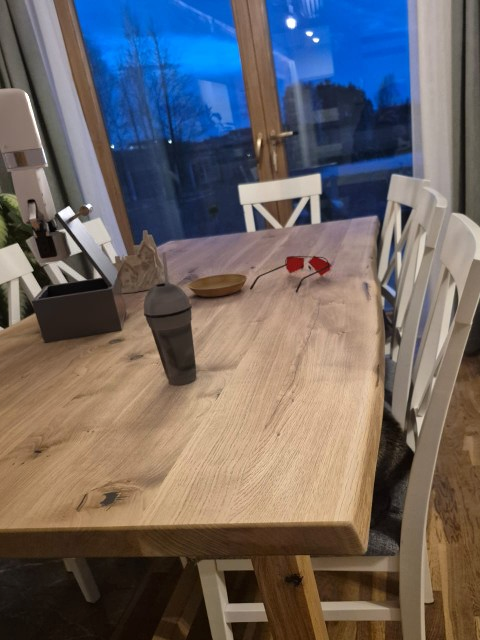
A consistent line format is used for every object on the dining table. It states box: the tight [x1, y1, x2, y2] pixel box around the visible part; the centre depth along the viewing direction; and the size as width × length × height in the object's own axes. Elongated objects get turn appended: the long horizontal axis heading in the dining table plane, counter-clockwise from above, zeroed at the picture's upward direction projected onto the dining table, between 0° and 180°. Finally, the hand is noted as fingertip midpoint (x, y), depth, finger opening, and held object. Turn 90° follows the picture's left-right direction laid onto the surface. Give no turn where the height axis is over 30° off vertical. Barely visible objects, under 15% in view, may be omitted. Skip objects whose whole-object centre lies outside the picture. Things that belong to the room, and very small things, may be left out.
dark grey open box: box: [31, 276, 128, 344], centre depth 125 cm, size 16×14×9 cm
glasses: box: [249, 255, 332, 294], centre depth 142 cm, size 14×16×5 cm
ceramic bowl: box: [29, 231, 72, 264], centre depth 119 cm, size 7×7×5 cm
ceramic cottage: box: [112, 230, 170, 295], centre depth 156 cm, size 16×16×15 cm
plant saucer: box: [186, 273, 248, 298], centre depth 143 cm, size 15×15×3 cm
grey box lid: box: [54, 203, 118, 287], centre depth 120 cm, size 17×14×5 cm
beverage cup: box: [143, 252, 198, 386], centre depth 88 cm, size 7×7×20 cm
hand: (52, 253), depth 119 cm, fingers closed on ceramic bowl, 6 cm apart
